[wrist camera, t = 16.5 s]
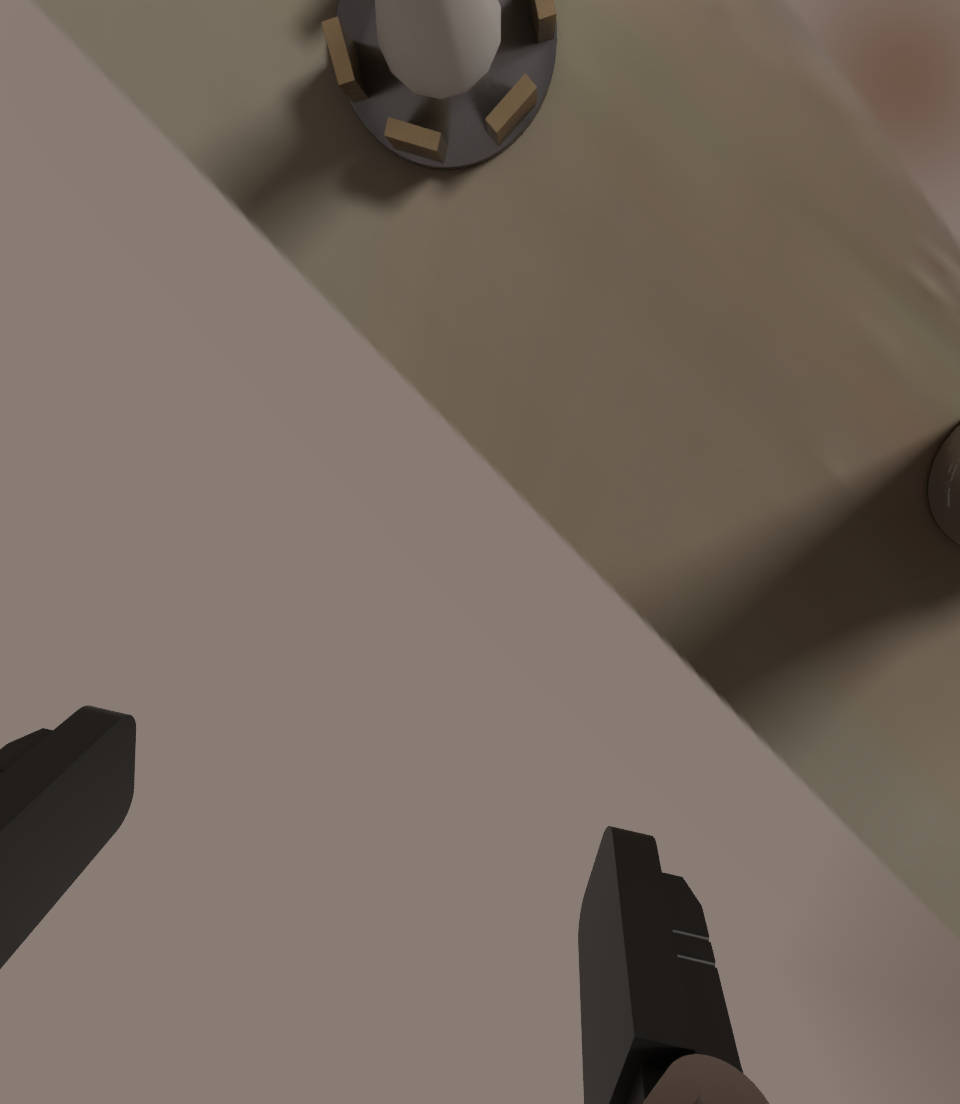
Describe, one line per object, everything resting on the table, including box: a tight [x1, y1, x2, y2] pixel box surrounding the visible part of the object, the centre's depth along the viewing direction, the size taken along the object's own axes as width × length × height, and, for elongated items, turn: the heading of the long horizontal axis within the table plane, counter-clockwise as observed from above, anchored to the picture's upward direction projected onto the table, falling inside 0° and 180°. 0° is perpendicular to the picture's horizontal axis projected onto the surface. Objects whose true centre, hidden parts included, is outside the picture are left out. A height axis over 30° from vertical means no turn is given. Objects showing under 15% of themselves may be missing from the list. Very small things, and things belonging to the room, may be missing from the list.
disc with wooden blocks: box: [321, 0, 557, 170], centre depth 34 cm, size 11×11×4 cm
